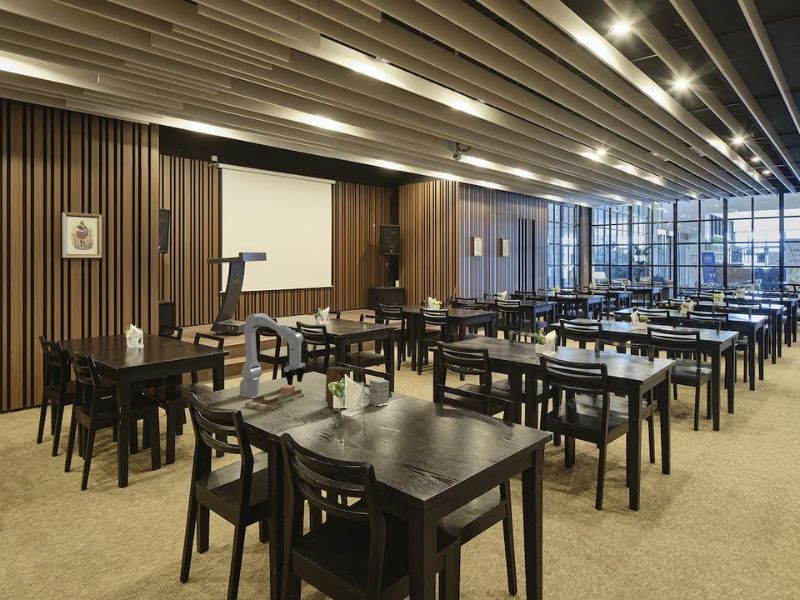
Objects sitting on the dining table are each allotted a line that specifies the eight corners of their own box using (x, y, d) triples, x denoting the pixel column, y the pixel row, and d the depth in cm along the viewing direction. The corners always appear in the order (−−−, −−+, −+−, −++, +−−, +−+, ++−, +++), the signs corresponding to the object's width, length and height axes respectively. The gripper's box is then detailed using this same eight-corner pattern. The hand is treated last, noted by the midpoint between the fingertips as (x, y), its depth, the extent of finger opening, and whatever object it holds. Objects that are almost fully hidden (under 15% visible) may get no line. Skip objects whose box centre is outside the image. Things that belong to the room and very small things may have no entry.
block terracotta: (280, 394, 265) (280, 386, 265) (286, 392, 270) (287, 384, 270) (288, 395, 263) (288, 388, 263) (294, 393, 268) (294, 386, 268)
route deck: (245, 407, 248) (245, 398, 248) (283, 393, 274) (283, 386, 274) (267, 411, 242) (268, 402, 242) (304, 397, 268) (304, 390, 268)
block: (324, 407, 251) (324, 367, 250) (333, 404, 257) (334, 364, 256) (341, 411, 245) (342, 370, 244) (351, 407, 252) (351, 367, 250)
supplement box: (368, 404, 259) (369, 379, 258) (379, 401, 264) (380, 377, 263) (377, 407, 253) (378, 382, 252) (388, 405, 258) (389, 380, 257)
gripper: (292, 359, 248) (292, 387, 249) (310, 355, 261) (309, 381, 262) (281, 358, 251) (280, 385, 252) (299, 354, 264) (298, 379, 265)
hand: (294, 383), depth 257 cm, fingers open, 7 cm apart
